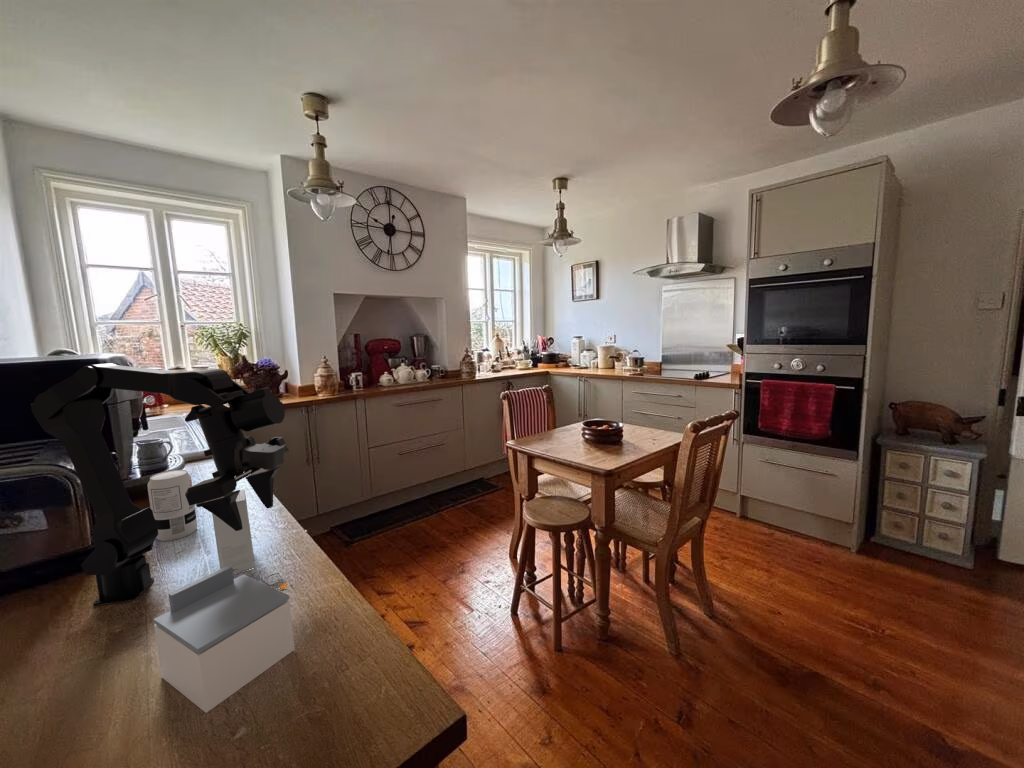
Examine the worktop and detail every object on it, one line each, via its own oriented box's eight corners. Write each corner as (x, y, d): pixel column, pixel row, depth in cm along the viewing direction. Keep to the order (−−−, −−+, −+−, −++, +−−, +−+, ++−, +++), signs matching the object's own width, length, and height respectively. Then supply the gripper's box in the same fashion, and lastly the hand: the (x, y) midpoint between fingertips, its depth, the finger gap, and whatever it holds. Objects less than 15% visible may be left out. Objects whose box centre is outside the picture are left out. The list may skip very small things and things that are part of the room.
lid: (154, 622, 58) (151, 601, 58) (243, 577, 68) (241, 559, 68) (198, 653, 52) (195, 630, 52) (289, 599, 63) (287, 579, 62)
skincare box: (255, 569, 86) (247, 500, 84) (219, 579, 83) (210, 507, 81) (253, 552, 93) (246, 487, 91) (220, 560, 90) (212, 494, 88)
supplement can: (146, 539, 100) (138, 478, 98) (184, 524, 108) (177, 467, 106) (168, 544, 97) (159, 482, 95) (205, 529, 105) (198, 470, 103)
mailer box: (161, 677, 59) (154, 624, 58) (249, 624, 70) (244, 579, 69) (206, 713, 53) (198, 655, 52) (294, 649, 64) (289, 601, 63)
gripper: (234, 440, 65) (267, 531, 67) (295, 415, 84) (320, 488, 86) (167, 458, 66) (202, 548, 68) (243, 430, 84) (269, 501, 86)
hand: (255, 518), depth 77 cm, fingers open, 9 cm apart
